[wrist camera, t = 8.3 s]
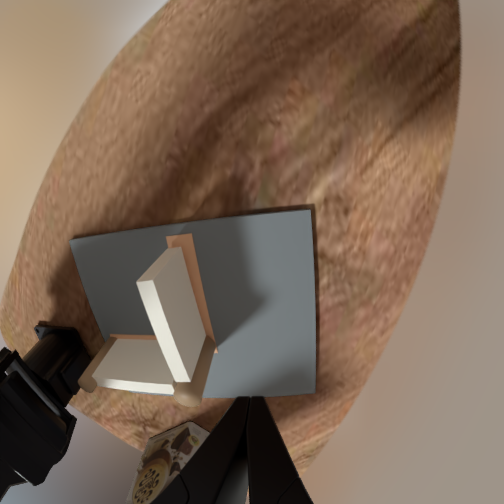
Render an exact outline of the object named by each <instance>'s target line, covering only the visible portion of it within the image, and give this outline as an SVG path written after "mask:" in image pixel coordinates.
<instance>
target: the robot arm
mask: <svg viewBox="0 0 504 504" xmlns="http://www.w3.org/2000/svg"><path fill="white" fill-rule="evenodd" d="M34 330H35V332H36V334H37V336H38V338H39V341H38V342H37V343H36V344H35V346H34V347H33V348H32V349H31V350H30V351H29V352H28V353H27V354H26V355H25V356H24V357H23V358H21V357H20V356H19V353H18V352H17V350H16V349H15V350H14V351H12V352H11V351H10V350H9V349H7V348H6V347H4V348H3V349H2V350H1V351H0V502H1V500H2V498H3V497H4V495H5V494H6V492H7V491H8V489H9V488H10V487H11V486H14V485H19V484H23V483H27V482H29V483H30V484H32V485H33V486H37V485H39V484H41V483H43V482H44V481H45V479H46V477H47V475H48V473H49V471H50V469H51V468H52V466H53V465H55V464H57V463H58V462H59V461H60V460H61V459H62V458H63V457H64V455H65V454H66V452H67V449H68V446H69V443H70V440H71V437H72V434H73V430H74V427H75V424H76V421H77V418H75V417H74V416H73V415H71V414H70V413H69V412H68V411H67V410H66V409H65V408H64V407H66V406H67V404H68V403H69V401H70V400H71V398H72V397H73V395H76V394H77V393H78V391H79V390H80V388H81V387H80V386H79V384H78V380H79V378H80V377H81V376H82V374H83V373H84V371H85V370H86V368H87V367H88V366H89V364H90V363H91V360H90V358H89V356H88V354H87V352H86V350H85V348H84V346H83V343H82V341H81V339H80V337H79V335H78V333H77V331H76V330H75V329H74V328H71V327H57V326H44V325H36V326H35V328H34ZM5 371H6V372H7V374H8V375H6V373H5ZM179 473H180V474H177V475H176V476H175V478H174V479H173V480H172V481H171V482H170V484H169V485H168V486H167V487H166V488H165V489H164V490H163V491H162V492H161V493H160V494H159V495H158V496H157V497H156V498H155V499H154V500H153V501H152V502H151V503H149V504H245V502H246V496H247V491H248V485H249V502H250V504H314V503H313V501H312V500H311V498H310V496H309V494H308V492H307V491H306V489H305V487H304V485H303V482H302V480H301V478H300V477H299V474H298V472H297V470H296V468H295V465H294V463H293V461H292V459H291V457H290V455H289V452H288V450H287V448H286V446H285V443H284V441H283V439H282V437H281V434H280V432H279V430H278V427H277V425H276V423H275V421H274V418H273V416H272V414H271V411H270V409H269V407H268V404H267V402H266V399H265V397H264V396H262V395H260V396H251V397H250V396H238V397H236V399H235V400H234V401H233V403H232V404H231V405H230V407H229V408H228V410H227V411H226V412H225V414H224V415H223V416H222V418H221V419H220V420H219V422H218V423H217V425H216V426H215V427H214V429H213V430H212V431H211V432H210V434H209V435H208V436H207V438H206V439H205V440H204V442H203V443H202V444H201V446H200V447H199V448H198V449H197V451H196V452H195V453H194V454H193V456H192V457H191V458H190V459H189V461H188V462H187V463H186V464H185V466H184V467H183V468H182V469H181V471H180V472H179Z"/></svg>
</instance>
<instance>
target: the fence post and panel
mask: <svg viewBox="0 0 504 504" xmlns="http://www.w3.org/2000/svg"><path fill="white" fill-rule="evenodd" d="M215 348H216V344H215V342H214V341H213V339H211V338H210V337H208V336H206V337H205V340H204V343H203V346H202V349H201V352H200V355H199V358H198V361H197V364H196V367H195V370H194V374H193V377H192V380H191V382H176V381H175V379H174V377H173V375H172V373H171V370H170V368H169V366H168V364H167V361H166V359H165V357H164V354H163V352H162V350H161V347H160V345H159V342H158V340H143V339H117V338H116V337H109V338H108V340H107V341H106V342H105V344H104V345H103V346H102V348H101V349H100V351H99V352H98V353H97V355H96V356H95V357H94V359H93V360H92V362H91V363H90V364H89V366H88V367H87V368H86V370H85V371H84V373H83V374H82V376H81V377H80V378H79V380H78V384H79V386H80V387H81V388H82V389H83V390H84V391H86V392H89V393H92V392H93V391H94V389H95V388H96V386H101V387H108V388H115V389H122V390H130V391H138V392H148V393H159V394H173V396H174V399H175V400H176V401H177V402H178V403H180V404H182V405H184V406H187V407H196V406H198V405H200V403H201V400H202V396H203V393H204V389H205V385H206V381H207V378H208V374H209V370H210V366H211V363H212V359H213V355H214V351H215Z"/></svg>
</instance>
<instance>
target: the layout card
mask: <svg viewBox="0 0 504 504" xmlns="http://www.w3.org/2000/svg"><path fill="white" fill-rule="evenodd" d="M69 242H70V246H71V249H72V253H73V256H74V259H75V263H76V266H77V269H78V272H79V275H80V278H81V281H82V284H83V287H84V290H85V293H86V296H87V298H88V301H89V304H90V307H91V309H92V312H93V314H94V317H95V319H96V322H97V324H98V327H99V329H100V331H101V334H102V336H103V338H104V341H105V342H106V341H107V340H108V338H109V337H116V338H117V339H143V340H157V338H156V335H155V333H154V330H153V327H152V325H151V322H150V320H149V317H148V314H147V312H146V309H145V306H144V304H143V301H142V298H141V295H140V292H139V289H138V286H137V284H136V281H137V280H138V279H139V278H140V277H141V276H142V275H143V274H144V273H145V272H146V271H147V270H148V268H149V267H150V266H151V265H152V264H153V263H154V262H155V261H156V260H157V259H158V258H159V257H160V256H161V255H162V254H163V253H164V251H165V250H166V249H168V248H175V247H181V248H182V252H183V256H184V260H185V263H186V267H187V271H188V275H189V278H190V282H191V286H192V289H193V293H194V296H195V300H196V303H197V307H198V310H199V313H200V317H201V320H202V323H203V327H204V330H205V333H206V336H208V337H210V338H211V339H213V341H214V342H215V344H216V348H215V351H214V355H213V359H212V363H211V366H210V370H209V374H208V378H207V381H206V385H205V389H204V393H203V396H202V398H236V397H238V396H250V397H251V396H260V395H262V396H264V397H276V396H290V395H302V394H312V393H315V388H316V311H315V279H314V256H313V239H312V223H311V210H310V209H299V210H289V211H278V212H268V213H258V214H249V215H240V216H231V217H222V218H214V219H206V220H198V221H190V222H182V223H174V224H167V225H160V226H152V227H145V228H138V229H132V230H125V231H118V232H112V233H106V234H99V235H93V236H87V237H81V238H75V239H71V240H69ZM129 392H133V393H142V394H152V395H164V396H173V394H159V393H148V392H138V391H130V390H129Z"/></svg>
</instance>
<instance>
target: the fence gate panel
mask: <svg viewBox="0 0 504 504" xmlns="http://www.w3.org/2000/svg"><path fill="white" fill-rule="evenodd" d="M136 284H137V286H138V289H139V292H140V295H141V298H142V301H143V304H144V306H145V309H146V312H147V314H148V317H149V320H150V322H151V325H152V327H153V330H154V333H155V335H156V338H157V340H158V342H159V345H160V347H161V350H162V352H163V354H164V357H165V359H166V361H167V364H168V366H169V368H170V370H171V373H172V375H173V377H174V379H175V381H176V382H191V380H192V377H193V374H194V370H195V367H196V364H197V361H198V358H199V355H200V352H201V349H202V346H203V343H204V340H205V337H206V333H205V330H204V327H203V323H202V320H201V317H200V313H199V310H198V307H197V303H196V300H195V296H194V293H193V289H192V286H191V282H190V278H189V275H188V271H187V267H186V263H185V260H184V256H183V252H182V248H181V247H175V248H168V249H166V250H165V251H164V253H163V254H162V255H161V256H160V257H159V258H158V259H157V260H156V261H155V262H154V263H153V264H152V265H151V266H150V267H149V268H148V270H147V271H146V272H145V273H144V274H143V275H142V276H141V277H140V278H139V279H138V280H137V281H136Z"/></svg>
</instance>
